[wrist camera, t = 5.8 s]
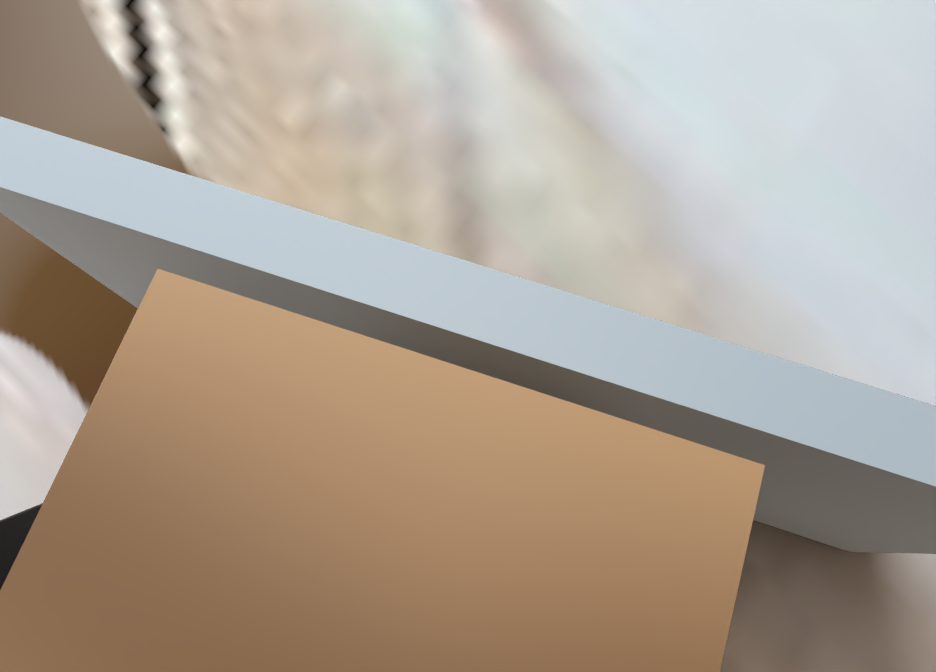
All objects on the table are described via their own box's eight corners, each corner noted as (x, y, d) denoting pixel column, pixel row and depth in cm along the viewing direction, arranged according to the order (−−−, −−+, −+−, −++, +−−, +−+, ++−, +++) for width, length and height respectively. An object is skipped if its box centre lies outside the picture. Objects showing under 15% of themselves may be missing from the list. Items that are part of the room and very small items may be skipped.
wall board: (810, 759, 18) (1131, 965, 9) (76, 492, 20) (-240, 451, 11) (856, 506, 19) (1166, 477, 11) (174, 284, 21) (-33, 106, 13)
